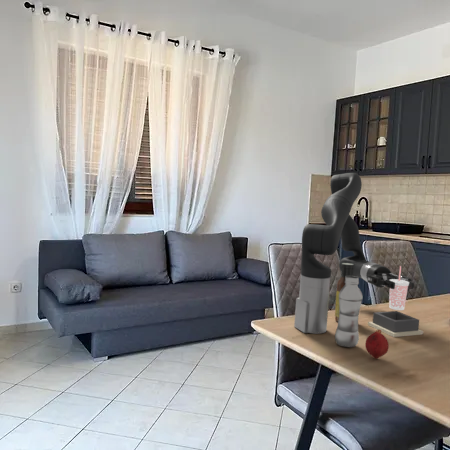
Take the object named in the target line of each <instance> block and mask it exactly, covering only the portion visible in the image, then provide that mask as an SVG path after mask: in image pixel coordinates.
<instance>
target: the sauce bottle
mask: <svg viewBox="0 0 450 450" xmlns="http://www.w3.org/2000/svg"><path fill="white" fill-rule="evenodd" d="M341 267H342V272H341V273H340V275H341V277H340V278H339V280H337V284H336V286H337V287H336V291H335V293H336V294H335V307H334V308H335V309H334V311H335V312H334V317H335V321H336V322H337V323H338V320H339V293H340V291H341V289H342V288H343V287H344V286H345V284H346V283H345V276H353V269H354V264H350V263H342V265H341Z"/></svg>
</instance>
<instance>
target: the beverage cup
mask: <svg viewBox="0 0 450 450" xmlns="http://www.w3.org/2000/svg"><path fill="white" fill-rule="evenodd" d="M401 274H402V265H399V272H398V276H399V279H390V281H393V282H395V289H391V288H389V294H388V295H389V298H388V301H389V302H388V303H389V304H388V306H389V309H390V310H391V309H392V310H393V311H404V310H405V307H406V300H407V295H408V289H409V288H408V285H409V282H408V281H404V280H400V276H401Z"/></svg>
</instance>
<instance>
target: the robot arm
mask: <svg viewBox="0 0 450 450" xmlns="http://www.w3.org/2000/svg"><path fill="white" fill-rule="evenodd" d="M330 178H331V179H330V192H331V194H330V195H329V196H328V197H327V198H326V199H325V202H324V204H323V205H322V208H321V211H320V212H321V213H320V215H321V219H322V220H323V222H324V223H325V224H318V223H317V224H315V223H313V224H312V223H308V224H306V225H305V226H304V227H303V230H302V236H301V259H300V261H301V262H300V280H299V291H298V293H299V294H298V297H296V299H295V312H294V325H293V326H294V328H295V329H297V330H298V331H301V332H302V333H304V334H308V333H309V334H324V333H326V332H327V330H328V329H327V327H328V318H329V317H328V313H329V304H330V301H329V300H330V290H331V289H330V288H331V277H332V269H331V267H329V266H328V265H326V264H324V263H322V262H320V261H319V260H318V259H317V258H316V257H315V255H320V256H332V255H334V254H335V253H336V252H337V250H338V246H339V243H340V242H341V248H342V250H343V251H344V252H352V253H353V255H352V256H347V257H345V256H344V257H343V258H341V259H340V261H339V263H338V267H339V270H340V272H341V273H342V267H341V265H342V263H350V264H354V269H353V276H355V277H358V278H359V279H361V280H364V281H365V282H366V283H368V284H371V285H372V286H374V287H376V288H380V289H381V288H385V287H387V288H389V289H390V288H391V289H395V282H393V281H390V279H399V274H398V275H397V274H395V273H392V271H391V270H390V269H389V268H388V267H387V266H384V265H382V264H379V263H376V262H371V261H369V260H367V259H366V256H365V252H364V251H363V248H362V245H361V240H360V239H361V238H360V230H359V227H358V224H357V222H356V221H355V219H353V217H352V216H351V215H350V213H351V210H352V207H353V205H354V203H355V202H356V200H357V199H358V197H359V196H360V194H361V191H362V187H363V186H362V179H361V177H360V175H359V174H358V173H357V172H346V173H340V174H333V175H332V177H330ZM340 240H341V241H340ZM400 280H404V281H408V282H409V285H408V289H409V290H414V287H415V283H414V282H413V279H412V278H411V277H408V276H406V275H404V274H402V275H401V276H400Z"/></svg>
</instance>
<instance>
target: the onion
mask: <svg viewBox="0 0 450 450" xmlns="http://www.w3.org/2000/svg"><path fill="white" fill-rule="evenodd" d="M364 345H365V350H366V352H367V353H368V354H369V355H370V356H371V357H372V358H373V359H376V360H377V359H379V358H382V357H383V356H384V355H386V354H387V353H388V351H389V347H390V346H389V341H388V339H387V337H385V335H384V334H383V333H382V331H381V330H380V329H378V330H377V329H376V330H375V331H374V332H372V333H371V334H369V335H368V336H367V337H366V340H365V344H364Z"/></svg>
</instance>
